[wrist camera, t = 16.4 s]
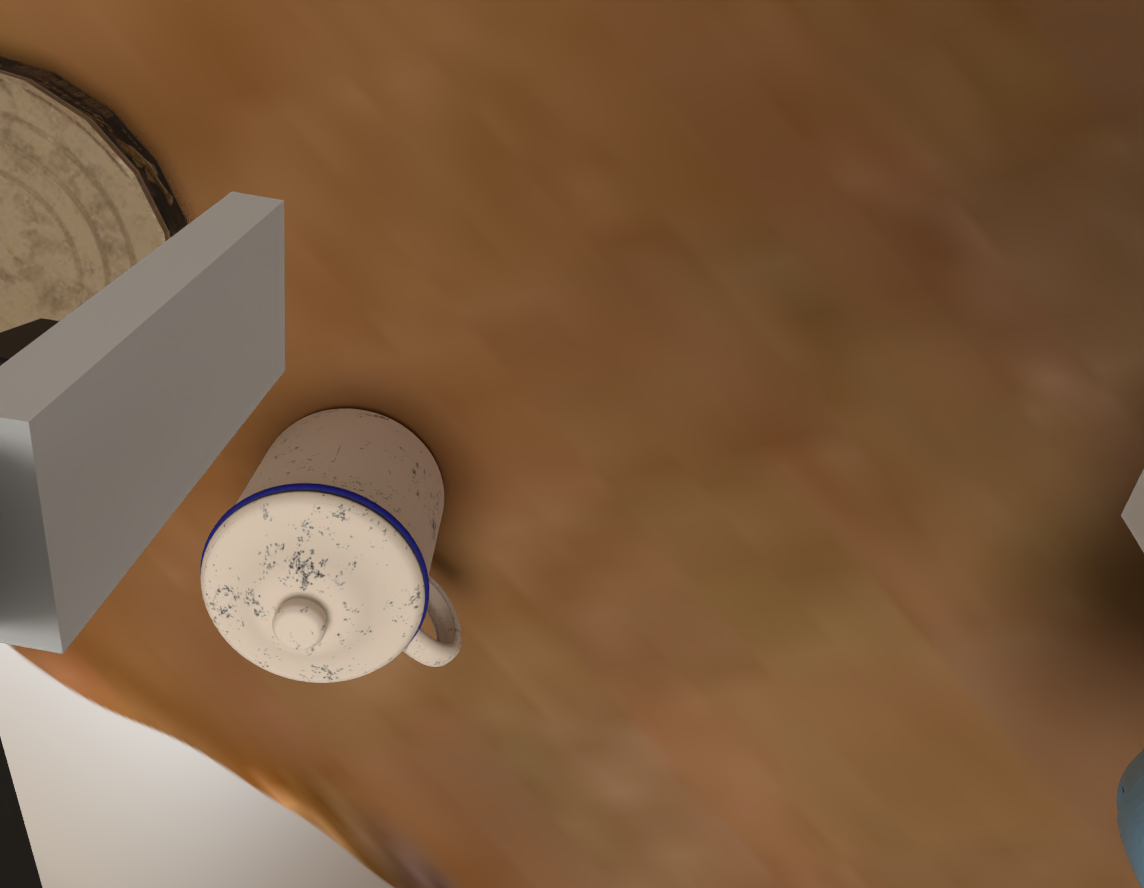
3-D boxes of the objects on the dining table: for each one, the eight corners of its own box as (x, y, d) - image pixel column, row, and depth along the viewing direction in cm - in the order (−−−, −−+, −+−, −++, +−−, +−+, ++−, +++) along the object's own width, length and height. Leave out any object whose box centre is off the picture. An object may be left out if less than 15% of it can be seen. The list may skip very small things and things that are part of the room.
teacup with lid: (217, 484, 50) (122, 626, 39) (347, 361, 47) (284, 477, 37) (402, 639, 53) (361, 807, 43) (532, 533, 51) (523, 683, 40)
